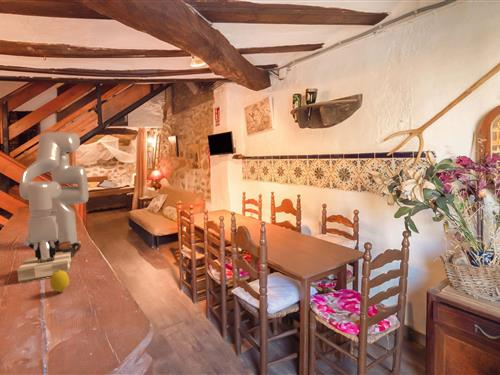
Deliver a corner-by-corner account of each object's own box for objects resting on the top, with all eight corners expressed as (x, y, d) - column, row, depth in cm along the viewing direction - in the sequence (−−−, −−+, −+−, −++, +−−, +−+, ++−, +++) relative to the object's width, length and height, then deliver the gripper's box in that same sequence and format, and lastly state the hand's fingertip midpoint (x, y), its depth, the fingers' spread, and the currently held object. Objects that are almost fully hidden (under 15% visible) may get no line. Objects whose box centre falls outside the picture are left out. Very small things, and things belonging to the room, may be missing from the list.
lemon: (66, 287, 107) (64, 265, 107) (72, 291, 104) (70, 269, 103) (48, 293, 103) (46, 270, 102) (54, 297, 100) (52, 274, 99)
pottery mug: (52, 262, 136) (48, 245, 138) (59, 265, 144) (54, 249, 146) (81, 251, 140) (76, 235, 142) (86, 255, 149) (81, 239, 151)
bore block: (27, 269, 126) (26, 258, 126) (71, 262, 133) (70, 251, 133) (18, 283, 112) (17, 270, 111) (68, 274, 119) (67, 262, 119)
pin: (41, 266, 123) (39, 238, 122) (53, 265, 125) (50, 237, 124) (40, 270, 120) (37, 241, 118) (52, 268, 122) (49, 239, 120)
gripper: (66, 210, 127) (70, 252, 129) (18, 214, 120) (22, 258, 122) (65, 213, 121) (69, 257, 122) (13, 217, 113) (18, 264, 115)
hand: (46, 257), depth 122 cm, fingers closed on pin, 4 cm apart
